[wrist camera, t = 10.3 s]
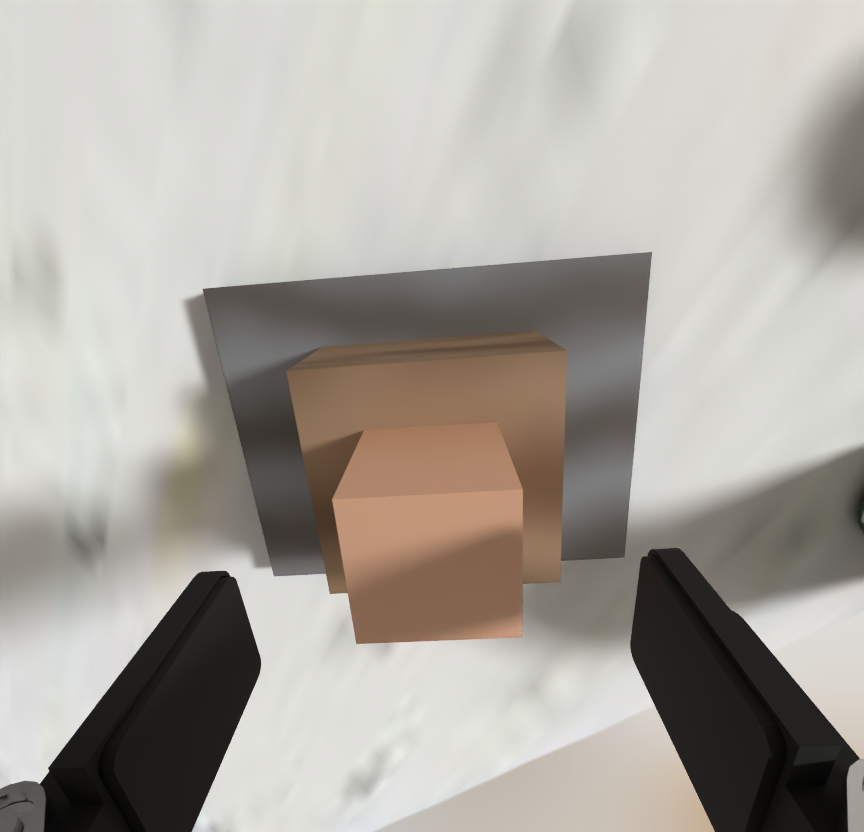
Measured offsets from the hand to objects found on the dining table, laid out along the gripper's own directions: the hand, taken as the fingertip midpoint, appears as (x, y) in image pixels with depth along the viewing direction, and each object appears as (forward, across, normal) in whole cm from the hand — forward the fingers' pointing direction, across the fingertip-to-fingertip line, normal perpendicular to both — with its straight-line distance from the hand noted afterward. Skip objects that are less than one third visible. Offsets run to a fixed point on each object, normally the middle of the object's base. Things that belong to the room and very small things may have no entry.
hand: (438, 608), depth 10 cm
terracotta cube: (+7, 0, +1) cm, 7 cm away
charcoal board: (+13, 0, +1) cm, 13 cm away
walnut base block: (+12, 0, +1) cm, 12 cm away
